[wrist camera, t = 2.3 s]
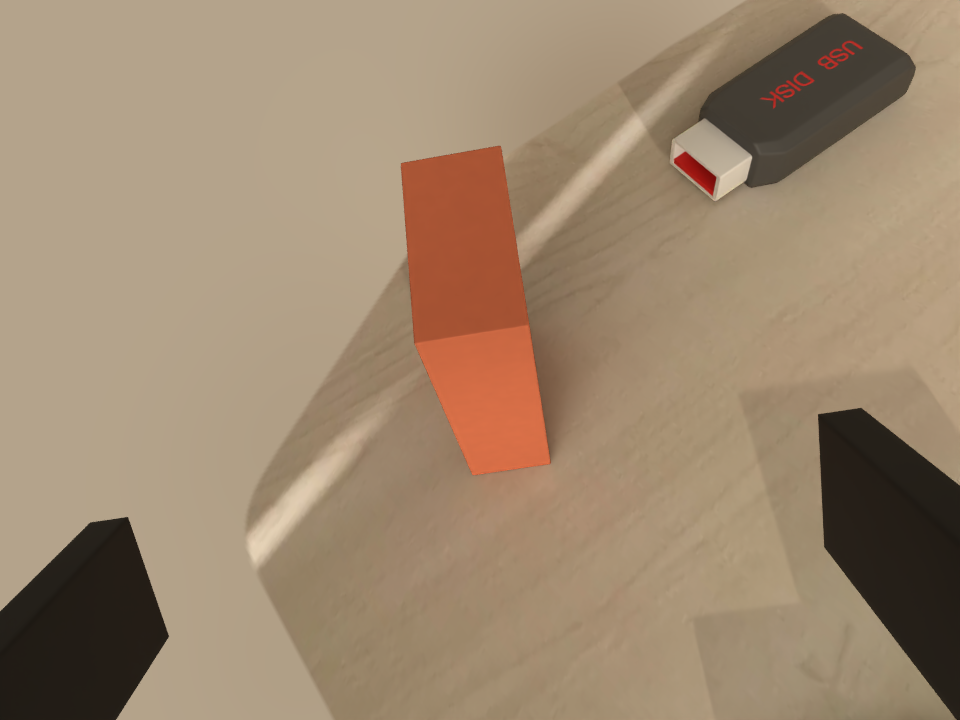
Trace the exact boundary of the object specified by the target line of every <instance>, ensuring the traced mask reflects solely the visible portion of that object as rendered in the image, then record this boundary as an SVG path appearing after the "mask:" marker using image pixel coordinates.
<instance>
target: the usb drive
mask: <svg viewBox="0 0 960 720" xmlns="http://www.w3.org/2000/svg"><path fill="white" fill-rule="evenodd" d="M915 69H916V66H915V65H914V63H913V61H912V60H911V58H910V56H909V55H908V54H907V53H905V52H904V51H902V50H901V49H899V48H897V47H896V46H894V45H893V44H891V43H890V42H888V41H886V40H885V39H883V38H882V37H880V36H879V35H877V34H875V33H874V32H872V31H871V30H869V29H868V28H866V27H864V26H863V25H861V24H860V23H858V22H857V21H855V20H853V19H852V18H850V17H849V16H847V15H845V14H843V13H841V14H833V15H831V16H828V17H827V18H825V19H823V20H822V21H820V22H819V23H817V24H816V25H814V26H812V27H811V28H809V29H808V30H806V31H805V32H803V33H802V34H800V35H799V36H797V37H796V38H794V39H793V40H791V41H790V42H788V43H787V44H785V45H784V46H782V47H781V48H779V49H777V50H776V51H774V52H773V53H771V54H770V55H768V56H767V57H765V58H764V59H762V60H761V61H759V62H758V63H756V64H755V65H753V66H752V67H750V68H749V69H747V70H746V71H744V72H742V73H741V74H739V75H738V76H736V77H735V78H733V79H732V80H730V81H729V82H727V83H726V84H724V85H723V86H721V87H720V88H718V89H717V90H715V91H714V92H712V93H711V94H710V95H709V96H708V98H707V100H706V101H705V103H704V105H703V106H702V108H701V111H700V116H699V122H698V123H696V124H695V125H693V126H692V127H690V128H689V129H687V130H686V131H684V132H683V133H681V134H680V135H678V136H677V137H675V138H674V139H673V140H672V147H671V155H670V164H672V165H673V166H674V167H675V168H676V169H677V170H679V171H680V172H681V173H682V174H683V175H684V176H686V177H687V178H688V179H689V180H690V181H691V182H693V183H694V184H695V185H696V186H697V187H698V188H700V189H701V190H702V191H703V192H704V193H705V194H707V195H708V196H709V197H710V198H711V199H712V200H714V201H717V200H718V199H720V198H721V197H723V196H724V195H726V194H727V193H728V192H730V191H731V190H733V189H734V188H736V187H737V186H739V185H740V184H741V183H743V182H744V183H745V184H747V185H748V186H749V187H756V186H762V185H767V184H772V183H777V182H779V181H780V180H782V179H784V178H785V177H787V176H788V175H789V174H791V173H792V172H794V171H795V170H797V169H798V168H799V167H801V166H802V165H804V164H805V163H807V162H808V161H810V160H811V159H812V158H814V157H815V156H817V155H818V154H820V153H821V152H822V151H824V150H825V149H827V148H828V147H830V146H831V145H833V144H834V143H835V142H837V141H838V140H840V139H841V138H843V137H844V136H845V135H847V134H848V133H850V132H851V131H853V130H854V129H856V128H857V127H858V126H860V125H861V124H863V123H864V122H866V121H867V120H868V119H870V118H871V117H873V116H874V115H876V114H877V113H879V112H880V111H881V110H883V109H884V108H886V107H887V106H889V105H890V104H891V103H893V102H894V101H896V100H897V99H899V98H900V97H901V96H903V95H904V94H905V93H906V92H907V90H908V88H909V85H910V83H911V81H912V79H913V76H914V73H915Z"/></svg>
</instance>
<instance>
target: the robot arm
mask: <svg viewBox="0 0 960 720" xmlns="http://www.w3.org/2000/svg"><path fill="white" fill-rule="evenodd" d="M818 422H819V443H820V465H821V486H822V508H823V529H824V547H825V549H826V550H827V551H828V553H829V554H830V555H831V556H832V558H833V559H834V560H835V562H836V563H837V564H838V566H839V567H840V568H841V569H842V571H843V572H844V573H845V575H846V576H847V577H848V579H849V580H850V581H851V583H852V584H853V585H854V586H855V588H856V589H857V590H858V592H859V593H860V594H861V596H862V597H863V598H864V599H865V601H866V602H867V603H868V605H869V606H870V607H871V609H872V610H873V611H874V613H875V614H876V615H877V616H878V618H879V619H880V620H881V622H882V623H883V624H884V626H885V627H886V628H887V629H888V631H889V632H890V633H891V635H892V636H893V637H894V639H895V640H896V641H897V643H898V644H899V645H900V646H901V648H902V649H903V650H904V652H905V653H906V654H907V656H908V657H909V658H910V659H911V661H912V662H913V663H914V665H915V666H916V667H917V669H918V670H919V671H920V673H921V674H922V675H923V676H924V678H925V679H926V680H927V682H928V683H929V684H930V686H931V687H932V688H933V689H934V691H935V692H936V693H937V695H938V696H939V697H940V699H941V700H942V701H943V703H944V704H945V705H946V706H947V708H948V709H949V710H950V712H951V713H952V714H953V716H954V717H955V718H956V719H957V720H960V485H958V484H957V483H956V482H954V481H953V480H952V479H951V478H949V477H948V476H947V475H946V474H944V473H943V472H942V471H941V470H939V469H938V468H937V467H935V466H934V465H933V464H932V463H930V462H929V461H928V460H927V459H925V458H924V457H923V456H921V455H920V454H919V453H918V452H916V451H915V450H914V449H913V448H911V447H910V446H909V445H908V444H906V443H905V442H904V441H902V440H901V439H900V438H899V437H897V436H896V435H895V434H894V433H892V432H891V431H890V430H889V429H887V428H886V427H885V426H883V425H882V424H881V423H880V422H878V421H877V420H876V419H875V418H873V417H872V416H871V415H870V414H868V413H867V412H866V411H864V410H863V409H862V408H858V409H851V410H845V411H838V412H831V413H824V414H818ZM168 637H169V635H168V632H167V630H166V627H165V624H164V621H163V618H162V615H161V612H160V609H159V607H158V603H157V600H156V597H155V594H154V592H153V589H152V586H151V583H150V580H149V577H148V574H147V571H146V569H145V565H144V563H143V560H142V557H141V554H140V551H139V548H138V545H137V542H136V539H135V536H134V533H133V530H132V527H131V525H130V522H129V519H128V517H125V518H119V519H112V520H105V521H98V522H92V523H90V524H88V526H86V527H85V529H83V530H82V531H81V532H80V533H79V534H78V535H77V536H76V537H75V538H74V540H72V541H71V542H70V543H69V544H68V545H67V546H66V547H65V548H64V549H63V550H62V551H61V552H60V553H59V554H58V555H57V556H56V557H55V558H54V559H53V560H52V561H51V562H50V563H49V564H48V565H47V566H46V567H45V568H44V569H43V570H42V571H41V572H40V573H39V574H38V575H37V576H36V577H35V578H34V579H33V580H32V581H31V582H30V583H29V584H28V585H27V586H26V587H25V588H24V589H23V590H22V591H21V592H20V593H19V594H18V595H17V596H15V598H13V599H12V600H11V601H10V602H9V603H8V604H7V605H6V606H5V607H4V608H3V609H2V610H1V611H0V720H116V719H117V717H118V716H119V714H120V713H121V711H122V709H123V708H124V706H125V705H126V703H127V701H128V700H129V698H130V697H131V695H132V694H133V692H134V691H135V689H136V687H137V686H138V684H139V683H140V681H141V680H142V678H143V676H144V675H145V673H146V672H147V670H148V669H149V667H150V665H151V664H152V662H153V661H154V659H155V658H156V656H157V654H158V653H159V651H160V650H161V648H162V647H163V645H164V644H165V642H166V640H167V639H168Z"/></svg>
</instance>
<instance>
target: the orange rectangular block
mask: <svg viewBox="0 0 960 720" xmlns="http://www.w3.org/2000/svg"><path fill="white" fill-rule="evenodd" d="M401 171H402V172H401V173H402V186H403V199H404V212H405V224H406V225H405V226H406V238H407V252H408V265H409V278H410V292H411V305H412V318H413V331H414V343H415V346H416V348H417V350H418V353H419V355H420V357H421V359H422V362H423V364H424V366H425V368H426V371H427V373H428V375H429V377H430V380H431V382H432V384H433V387H434V389H435V391H436V393H437V396H438V398H439V400H440V402H441V405H442V407H443V409H444V411H445V414H446V416H447V418H448V421H449V423H450V425H451V427H452V430H453V432H454V434H455V436H456V439H457V441H458V443H459V445H460V448H461V450H462V452H463V455H464V457H465V459H466V461H467V464H468V466H469V468H470V470H471V473H472V475H478V474H485V473H492V472H498V471H505V470H512V469H519V468H526V467H532V466H539V465H546V464H550V463H551V462H550V455H549V449H548V442H547V436H546V429H545V423H544V417H543V410H542V404H541V397H540V391H539V384H538V378H537V371H536V365H535V359H534V352H533V346H532V339H531V333H530V326H529V320H528V314H527V307H526V301H525V295H524V289H523V282H522V276H521V270H520V263H519V257H518V251H517V244H516V238H515V232H514V225H513V219H512V213H511V207H510V200H509V194H508V188H507V181H506V175H505V169H504V162H503V156H502V150H501V146H495V147H489V148H484V149H479V150H473V151H467V152H461V153H456V154H450V155H444V156H439V157H433V158H427V159H422V160H416V161H410V162H405V163H401Z"/></svg>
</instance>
